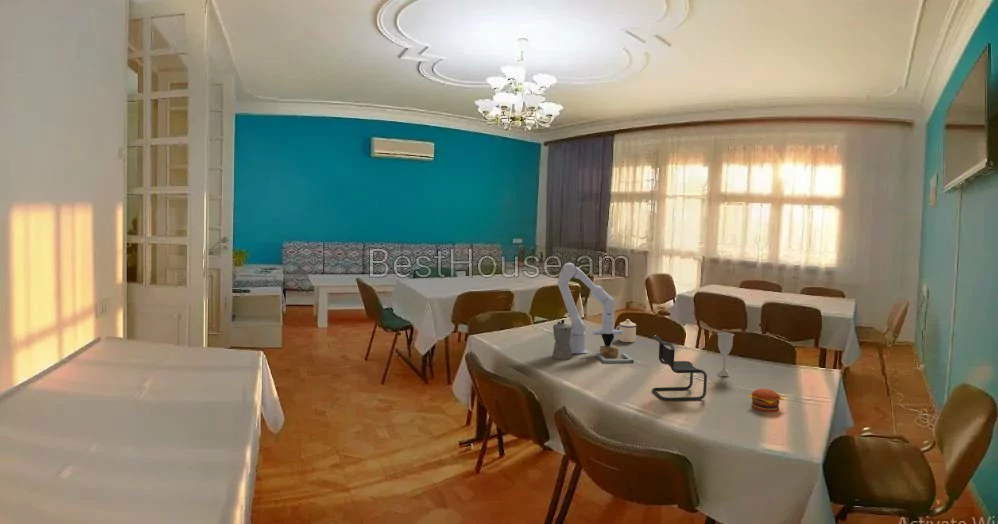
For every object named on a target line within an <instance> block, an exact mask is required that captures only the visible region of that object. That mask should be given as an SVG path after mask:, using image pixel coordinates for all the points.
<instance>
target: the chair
mask: <svg viewBox="0 0 998 524" xmlns="http://www.w3.org/2000/svg"><path fill="white" fill-rule="evenodd" d="M652 339H653V340H655V341H657V342H658V344H659V345H658V360H659V362H660V363H661V364H663V365H667V366H668V367H669V368H670V369H671V371H672V372H674V373H677V374H689V384H688V386H678V387H677V386H676V387H675V386H674V387H673V386H672V387H671V386H670V387H654V388H652V389H651V391H652V393H653V394H654V395H655V396H656V397H658V398H659V399H660V400H663V401H670V402H671V401H672V400H673V401H700V400H704V398H705V397H706V395H707V386H708V385H707V383H708V376H707V375H708V374H707V372H706V371H705V370H703V369H699V368H697V367H695V366H694V365H693V363H692V362H691V361H690V360H689V361H688V360H675V353H676V352H675V346H674V345H673V344H672V343H671V342H665V341H664V340H663V339H662V338H661V336H659V335H652ZM668 347H670V348H668ZM700 373H701V374H703V390H702V394H701V395H700V396H687V397H686V396H685V397H684V396H683V397H682V396H680V397H666V396H662V395H661V394H659V393H658V392H657V391H687V390H690V389H691V388H692V386H693V380H694V374H700ZM673 401H672V402H673Z"/></svg>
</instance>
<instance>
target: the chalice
mask: <svg viewBox="0 0 998 524" xmlns="http://www.w3.org/2000/svg"><path fill="white" fill-rule="evenodd" d="M717 336H718V337H717V346H718V349H719V352H720V354H721V355H722V356H723V358H722V363H721V365H722V367H721V368H720V369H719V370H718V373H717V374H718V375H720V376H719V377H721V376H729V375H730V373H729V371H728V369H727V368H726V366H727V364H726V361H727V359H726V357H727V356H729V354H730V352H731V351H732V348H733V345H734V344H733V342H734V336H735V334H734V333H731V332H727V331H725V332H724V331H721V332H717ZM718 375H717V376H718ZM729 377H730V376H729Z"/></svg>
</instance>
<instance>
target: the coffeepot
mask: <svg viewBox="0 0 998 524" xmlns="http://www.w3.org/2000/svg"><path fill="white" fill-rule="evenodd" d="M552 328H553V330H552V331H553V337H554V341H555V342H554V346H553V352H552V358H554V359H557V360H569V359H571V358H572V354H571V349H570V344H569V340H570V337H571V332H572V324H571V325H570V324H567V323H565V319H561V321H558V322H557V323H556V324H553V325H552Z"/></svg>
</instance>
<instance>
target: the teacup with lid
mask: <svg viewBox="0 0 998 524" xmlns="http://www.w3.org/2000/svg"><path fill="white" fill-rule="evenodd" d="M615 330H622V331H623V335H620V334H618V340H620V342H621V341H622V342H621V343H627V342H631V343H635V342H636V339H637V338H636V336H637V335H636V334H637V324H636V323H634V322H632V321H631V320H630V319H629V318H626V320H625V321H621V322H619V324H618V325H617V326H616V327H615Z"/></svg>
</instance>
